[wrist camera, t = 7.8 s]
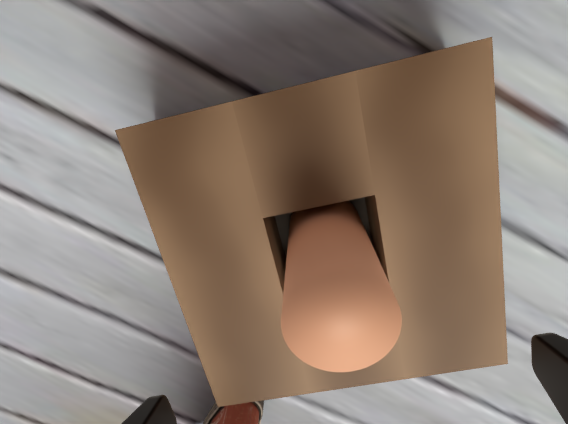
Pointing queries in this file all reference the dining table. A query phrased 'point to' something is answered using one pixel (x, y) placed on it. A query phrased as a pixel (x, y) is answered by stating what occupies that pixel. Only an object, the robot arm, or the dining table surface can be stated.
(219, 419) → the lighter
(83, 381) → the dining table surface
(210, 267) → the bore block
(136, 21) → the dining table surface
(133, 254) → the dining table surface
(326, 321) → the peg
